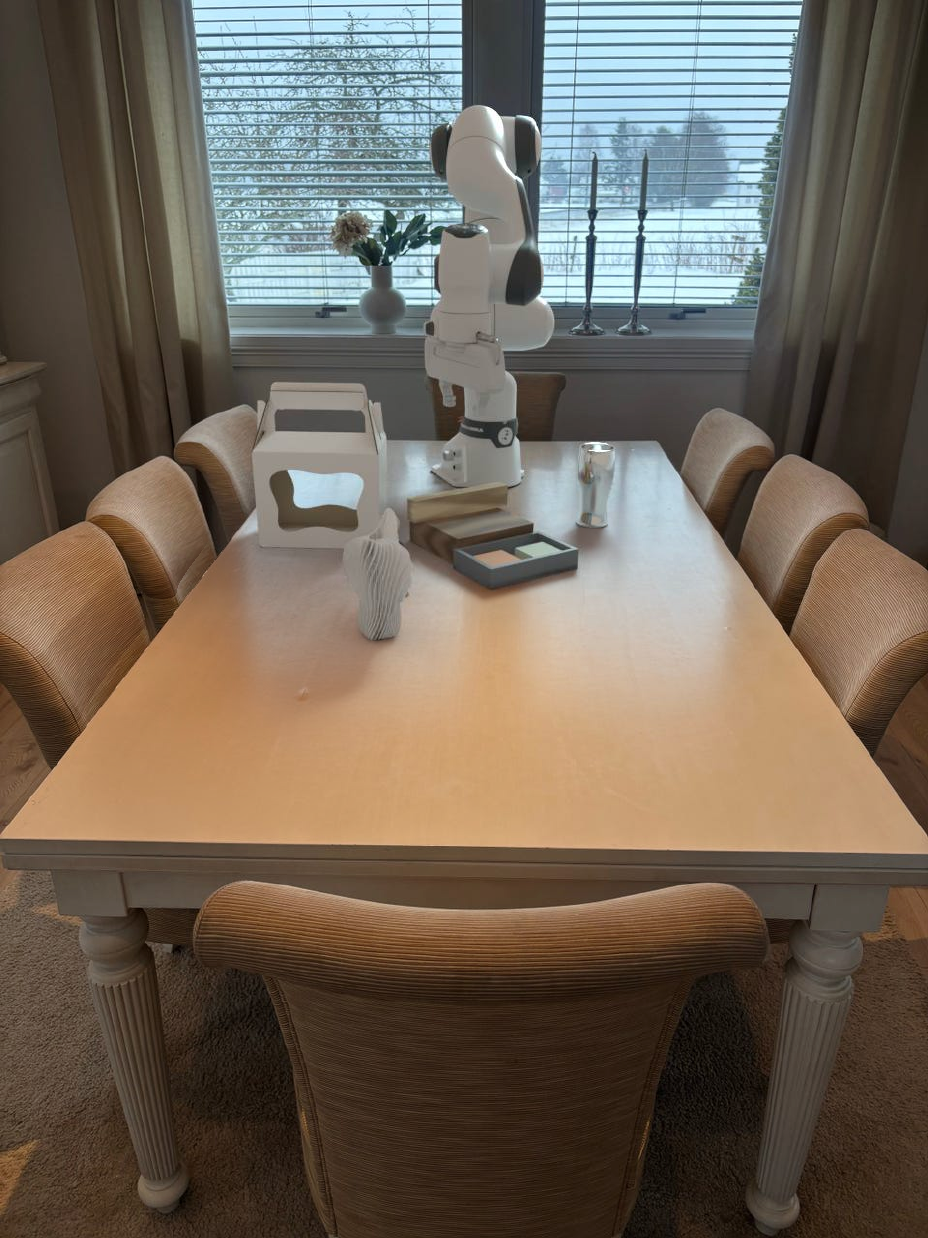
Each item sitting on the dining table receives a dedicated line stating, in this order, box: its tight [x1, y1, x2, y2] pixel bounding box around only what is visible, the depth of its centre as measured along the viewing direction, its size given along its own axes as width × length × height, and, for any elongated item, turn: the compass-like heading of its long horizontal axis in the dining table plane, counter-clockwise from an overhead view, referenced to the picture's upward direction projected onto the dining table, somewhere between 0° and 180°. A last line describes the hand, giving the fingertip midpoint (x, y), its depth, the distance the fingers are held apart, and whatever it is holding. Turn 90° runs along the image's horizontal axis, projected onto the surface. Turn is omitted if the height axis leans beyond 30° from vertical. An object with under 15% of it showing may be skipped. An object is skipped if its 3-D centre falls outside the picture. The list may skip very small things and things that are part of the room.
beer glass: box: [575, 442, 616, 529], centre depth 177 cm, size 7×7×15 cm
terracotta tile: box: [473, 550, 521, 567], centre depth 154 cm, size 6×6×2 cm
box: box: [452, 530, 580, 591], centre depth 157 cm, size 11×18×4 cm, turn 123°
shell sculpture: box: [342, 507, 414, 641], centre depth 129 cm, size 8×8×18 cm
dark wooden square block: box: [408, 507, 535, 565], centre depth 167 cm, size 16×16×5 cm
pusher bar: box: [406, 482, 509, 524], centre depth 168 cm, size 2×20×4 cm, turn 123°
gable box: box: [251, 381, 389, 550], centre depth 166 cm, size 22×13×28 cm, turn 88°
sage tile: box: [515, 542, 562, 560], centre depth 158 cm, size 6×6×2 cm
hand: (463, 411), depth 162 cm, fingers open, 8 cm apart
